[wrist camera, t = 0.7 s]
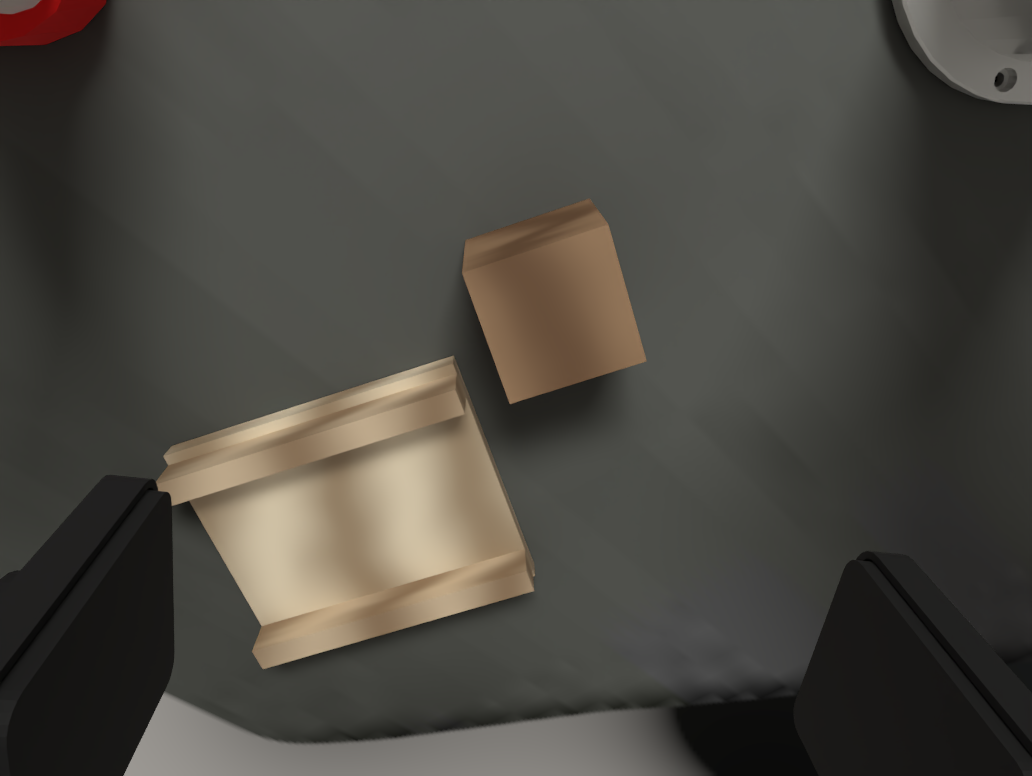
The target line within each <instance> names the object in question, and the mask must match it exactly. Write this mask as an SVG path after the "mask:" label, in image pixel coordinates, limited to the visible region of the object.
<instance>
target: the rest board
mask: <svg viewBox="0 0 1032 776" xmlns="http://www.w3.org/2000/svg"><path fill="white" fill-rule="evenodd" d="M163 457H164V458H165V460H166V462H167V464H168V467H167V468H166V469H165V471H164V472H163V473H162V474H161V476H160V477H159V478H158V480H157V481H156V483H157V486H158V491H163V492H168V493H169V494H170V496H171V502H172V506H173V505H176V504H180V503H183V502H186V501H189V502H190V503H191V505H192V507H193V508H194V510H195V512H196V514H197V515H198V517H199V519H200V520H201V522H202V524H203V526H204V527H205V529H206V531H207V533H208V534H209V536H210V538H211V539H212V541H213V543H214V545H215V546H216V548H217V550H218V551H219V553H220V555H221V557H222V558H223V560H224V562H225V564H226V565H227V567H228V569H229V570H230V572H231V574H232V576H233V577H234V579H235V581H236V582H237V584H238V586H239V588H240V589H241V591H242V593H243V595H244V596H245V598H246V600H247V601H248V603H249V605H250V607H251V608H252V610H253V612H254V613H255V615H256V617H257V619H258V620H259V622H260V624H261V626H262V627H261V630H260V632H259V635H258V637H257V640H256V642H255V645H254V647H253V650H252V652H253V654H254V655H255V657H256V659H257V660H258V662H259V664H260V665H261V667H262V669H266V668H269V667H272V666H276V665H279V664H283V663H286V662H290V661H293V660H297V659H300V658H304V657H307V656H311V655H314V654H318V653H321V652H324V651H328V650H331V649H335V648H338V647H342V646H345V645H349V644H352V643H356V642H359V641H363V640H366V639H369V638H373V637H376V636H380V635H383V634H387V633H390V632H394V631H397V630H401V629H404V628H408V627H411V626H415V625H418V624H421V623H425V622H428V621H432V620H435V619H439V618H442V617H446V616H449V615H453V614H456V613H460V612H463V611H467V610H470V609H473V608H477V607H480V606H484V605H487V604H491V603H494V602H498V601H501V600H505V599H508V598H512V597H515V596H519V595H522V594H525V593H529V592H532V591H534V583H533V576H535V568H534V562H533V560H532V557H531V554H530V552H529V549H528V547H527V544H526V542H525V539H524V536H523V534H522V531H521V529H520V526H519V523H518V521H517V518H516V516H515V513H514V510H513V508H512V505H511V503H510V500H509V497H508V495H507V492H506V490H505V487H504V484H503V482H502V479H501V477H500V474H499V471H498V469H497V466H496V464H495V461H494V459H493V456H492V453H491V451H490V448H489V446H488V443H487V440H486V438H485V435H484V433H483V430H482V427H481V425H480V422H479V420H478V417H477V414H476V412H475V409H474V407H473V404H472V401H471V399H470V396H469V394H468V391H467V388H466V386H465V383H464V381H463V378H462V376H461V373H460V370H459V368H458V365H457V363H456V360H455V357H454V356H451V357H447V358H444V359H441V360H438V361H435V362H432V363H429V364H426V365H422V366H419V367H416V368H413V369H410V370H407V371H404V372H401V373H398V374H394V375H391V376H388V377H385V378H382V379H379V380H376V381H373V382H370V383H366V384H363V385H360V386H357V387H354V388H351V389H348V390H345V391H341V392H338V393H335V394H332V395H329V396H326V397H323V398H320V399H317V400H313V401H310V402H307V403H304V404H301V405H298V406H295V407H292V408H289V409H285V410H282V411H279V412H276V413H273V414H270V415H267V416H264V417H260V418H257V419H254V420H251V421H248V422H245V423H242V424H239V425H236V426H232V427H229V428H226V429H223V430H220V431H217V432H214V433H211V434H208V435H204V436H201V437H198V438H195V439H192V440H189V441H186V442H183V443H179V444H176V445H173V446H171V447H170V448H169V450H168V451H167V452H166V453H165V455H164V456H163Z"/></svg>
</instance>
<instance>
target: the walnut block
mask: <svg viewBox="0 0 1032 776" xmlns="http://www.w3.org/2000/svg"><path fill="white" fill-rule="evenodd" d="M462 274H463V277H464V280H465V282H466V285H467V288H468V291H469V293H470V296H471V299H472V302H473V304H474V307H475V310H476V313H477V315H478V318H479V321H480V324H481V326H482V329H483V332H484V335H485V337H486V340H487V343H488V346H489V348H490V351H491V354H492V356H493V359H494V362H495V365H496V367H497V370H498V373H499V376H500V378H501V381H502V384H503V387H504V389H505V392H506V395H507V398H508V400H509V403H510V404H512V403H515V402H518V401H522V400H525V399H528V398H531V397H534V396H537V395H541V394H544V393H547V392H550V391H553V390H557V389H560V388H563V387H566V386H569V385H572V384H576V383H579V382H582V381H585V380H588V379H592V378H595V377H598V376H601V375H604V374H608V373H611V372H614V371H617V370H620V369H623V368H627V367H630V366H633V365H636V364H639V363H643V362H646V357H645V354H644V350H643V347H642V343H641V340H640V336H639V332H638V329H637V325H636V322H635V318H634V315H633V311H632V307H631V304H630V300H629V297H628V293H627V289H626V286H625V282H624V279H623V275H622V272H621V268H620V264H619V261H618V257H617V254H616V250H615V247H614V243H613V239H612V236H611V232H610V229H609V225H608V223H607V222H606V221H605V219H604V218H603V216H602V215H601V214H600V212H599V211H598V210H597V208H596V207H595V205H594V204H593V203H592V201H591V200H590V199H587V200H584V201H581V202H578V203H575V204H572V205H569V206H566V207H563V208H560V209H557V210H554V211H551V212H548V213H545V214H542V215H539V216H536V217H533V218H530V219H527V220H524V221H521V222H518V223H515V224H512V225H509V226H506V227H503V228H500V229H497V230H494V231H491V232H488V233H485V234H482V235H480V236H477V237H474V238H471V239H468V240H465V250H464V259H463V269H462Z"/></svg>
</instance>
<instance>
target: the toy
mask: <svg viewBox="0 0 1032 776" xmlns="http://www.w3.org/2000/svg"><path fill="white" fill-rule="evenodd" d="M105 4H106V0H0V46H22V45H47V44H49V43H51V42H54V41H56V40H59V39H61V38H64V37H66V36H69V35H71V34H74V33H76V32H79V31H81V30H82V29H83V28H84V27H85V26H86V25H87V24H88V23H89V22H90V21H91V20H92V18H93V17H94V16H95V15H96V14H97V13H98V12H99V11H100V10H101V9H102V7H103V6H104V5H105Z"/></svg>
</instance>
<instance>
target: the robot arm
mask: <svg viewBox="0 0 1032 776" xmlns="http://www.w3.org/2000/svg"><path fill="white" fill-rule="evenodd" d="M892 3H893V7H894V10H895V14H896V18H897V22H898V24H899V26H900V28H901V30H902V32H903V34H904V36H905V38H906V40H907V42H908V44H909V46H910V48H911V49H912V51H913V52H914V53H915V54H916V55H917V57H918V58H919V59H920V60H921V61H922V63H923V64H924V65H925V66H926V68H927V69H928V70H929V71H930V72H931V73H933V74H934V75H935V76H937V77H938V78H939V79H941V80H942V81H943V82H945V83H946V84H947V85H949V86H950V87H951V88H954V89H956V90H958V91H960V92H963V93H965V94H967V95H970V96H972V97H974V98H977V99H982V100H988V101H993V102H999V103H1005V104H1026V105H1032V0H892ZM996 76H997V81H996V83H995V84H994V82H995V77H996ZM173 663H174V607H173V550H172V502H171V496H170V494H169V493H168V492H163V491H158V486H157V483H156V482H155V481H154V480H153V479H145V478H136V477H126V476H116V475H106V476H105V477H104V478H102V479H101V480H100V481H99V483H98V484H97V485H96V486H95V487H94V488H93V489H92V490H91V492H90V493H89V494H88V495H87V496H86V497H85V498H84V500H83V501H82V502H81V503H80V504H79V505H78V506H77V507H76V509H75V510H74V511H73V512H72V513H71V514H70V515H69V516H68V518H67V519H66V520H65V521H64V522H63V523H62V524H61V525H60V527H59V528H58V529H57V530H56V531H55V532H54V533H53V534H52V536H51V537H50V538H49V539H48V540H47V541H46V542H45V543H44V545H43V546H42V547H41V548H40V549H39V550H38V551H37V553H36V554H35V555H34V556H33V557H32V558H31V559H30V560H29V562H28V563H27V564H26V565H25V566H24V567H23V568H22V569H21V571H13V572H10V573H8V574H6V575H5V576H4V577H3V578H2V579H0V776H123V775H124V773H125V771H126V769H127V767H128V765H129V763H130V761H131V759H132V757H133V755H134V752H135V750H136V748H137V746H138V744H139V742H140V740H141V738H142V736H143V734H144V732H145V730H146V728H147V726H148V724H149V722H150V720H151V717H152V715H153V713H154V711H155V709H156V707H157V705H158V703H159V701H160V699H161V697H162V695H163V693H164V691H165V689H166V687H167V684H168V682H169V679H170V676H171V673H172V668H173ZM794 721H795V726H796V729H797V732H798V734H799V736H800V738H801V740H802V742H803V744H804V746H805V748H806V750H807V752H808V754H809V756H810V758H811V760H812V762H813V764H814V766H815V768H816V770H817V773H818V775H819V776H1032V693H1031V692H1030V691H1029V689H1028V688H1027V687H1026V686H1025V685H1024V684H1023V683H1022V682H1021V680H1020V679H1019V678H1018V677H1017V676H1016V675H1015V674H1014V672H1013V671H1012V670H1011V669H1010V668H1009V667H1008V666H1007V665H1006V664H1005V662H1004V661H1003V660H1002V659H1001V658H1000V657H999V656H998V655H997V653H996V652H995V651H994V650H993V649H992V648H991V647H990V646H989V645H988V643H987V642H986V641H985V640H984V639H983V638H982V637H981V636H980V635H979V633H978V632H977V631H976V630H975V629H974V628H973V627H972V626H971V624H970V623H969V622H968V621H967V620H966V619H965V618H964V617H963V616H962V614H961V613H960V612H959V611H958V610H957V609H956V608H955V607H954V605H953V604H952V603H951V602H950V601H949V600H948V599H947V598H946V597H945V595H944V594H943V593H942V592H941V591H940V590H939V589H938V588H937V586H936V585H935V584H934V583H933V582H932V581H931V580H930V579H929V578H928V576H927V575H926V574H925V573H924V572H923V571H922V570H921V569H920V568H919V566H918V565H917V564H916V563H915V562H914V561H913V560H912V559H911V558H910V557H908V556H906V555H901V554H891V553H881V552H871V551H866V552H863V553H861V554H860V555H859V556H858V558H857V559H856V560H852V561H850V562H849V563H848V564H847V565H846V567H845V569H844V571H843V574H842V576H841V579H840V582H839V585H838V587H837V590H836V593H835V595H834V598H833V601H832V603H831V606H830V609H829V612H828V614H827V617H826V620H825V622H824V625H823V628H822V631H821V633H820V636H819V639H818V641H817V644H816V647H815V650H814V652H813V655H812V658H811V660H810V663H809V666H808V669H807V671H806V674H805V677H804V679H803V682H802V685H801V687H800V690H799V693H798V696H797V698H796V701H795V705H794Z"/></svg>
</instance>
